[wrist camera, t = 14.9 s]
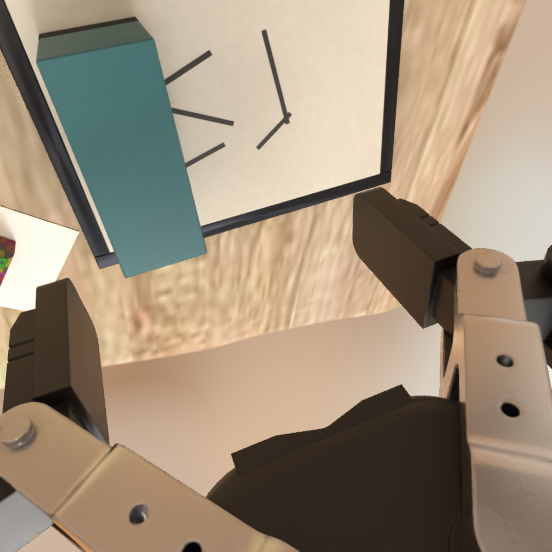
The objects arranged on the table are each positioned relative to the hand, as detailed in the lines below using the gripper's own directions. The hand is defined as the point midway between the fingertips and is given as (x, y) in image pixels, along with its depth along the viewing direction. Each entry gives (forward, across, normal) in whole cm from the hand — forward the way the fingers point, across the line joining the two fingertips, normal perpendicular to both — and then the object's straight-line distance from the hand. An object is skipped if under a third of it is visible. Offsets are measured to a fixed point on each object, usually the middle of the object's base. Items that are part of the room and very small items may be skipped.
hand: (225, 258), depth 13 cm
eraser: (+16, +2, +2) cm, 16 cm away
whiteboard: (+18, -5, +2) cm, 18 cm away
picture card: (+18, +11, +8) cm, 22 cm away
